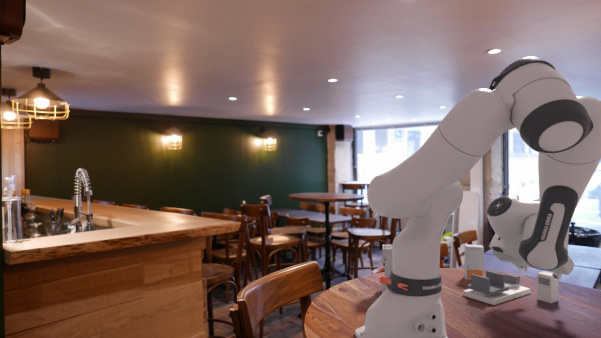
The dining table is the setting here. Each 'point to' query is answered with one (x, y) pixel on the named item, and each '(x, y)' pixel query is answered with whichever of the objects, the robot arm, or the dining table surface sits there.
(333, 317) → the dining table surface
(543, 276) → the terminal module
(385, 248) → the circuit breaker
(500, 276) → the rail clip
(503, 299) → the board
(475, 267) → the skincare box
